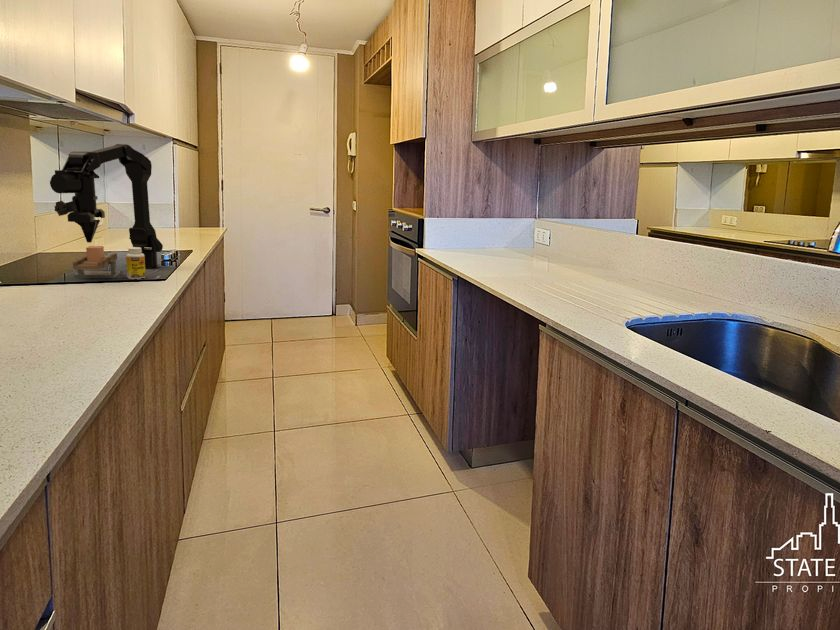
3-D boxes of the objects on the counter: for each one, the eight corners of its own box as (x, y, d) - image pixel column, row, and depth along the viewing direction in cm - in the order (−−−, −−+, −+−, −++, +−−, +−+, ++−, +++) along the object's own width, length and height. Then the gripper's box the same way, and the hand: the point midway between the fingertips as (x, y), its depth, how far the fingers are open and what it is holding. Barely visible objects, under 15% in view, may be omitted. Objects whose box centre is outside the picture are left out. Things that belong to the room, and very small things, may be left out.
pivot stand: (81, 273, 200) (79, 259, 199) (119, 273, 203) (118, 259, 202) (74, 277, 192) (72, 262, 191) (114, 277, 195) (113, 262, 194)
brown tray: (92, 258, 206) (91, 252, 205) (117, 259, 208) (116, 252, 207) (73, 269, 185) (72, 262, 185) (101, 269, 187) (100, 262, 187)
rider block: (91, 259, 198) (90, 245, 197) (104, 259, 199) (103, 246, 198) (87, 261, 194) (86, 247, 193) (100, 261, 195) (99, 248, 194)
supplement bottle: (130, 280, 192) (128, 249, 190) (125, 277, 196) (122, 247, 194) (148, 279, 196) (146, 248, 194) (142, 276, 200) (140, 246, 198)
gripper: (65, 190, 192) (70, 238, 195) (46, 193, 174) (51, 245, 178) (103, 192, 195) (107, 239, 198) (87, 194, 177) (92, 246, 181)
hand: (89, 242), depth 189 cm, fingers closed
